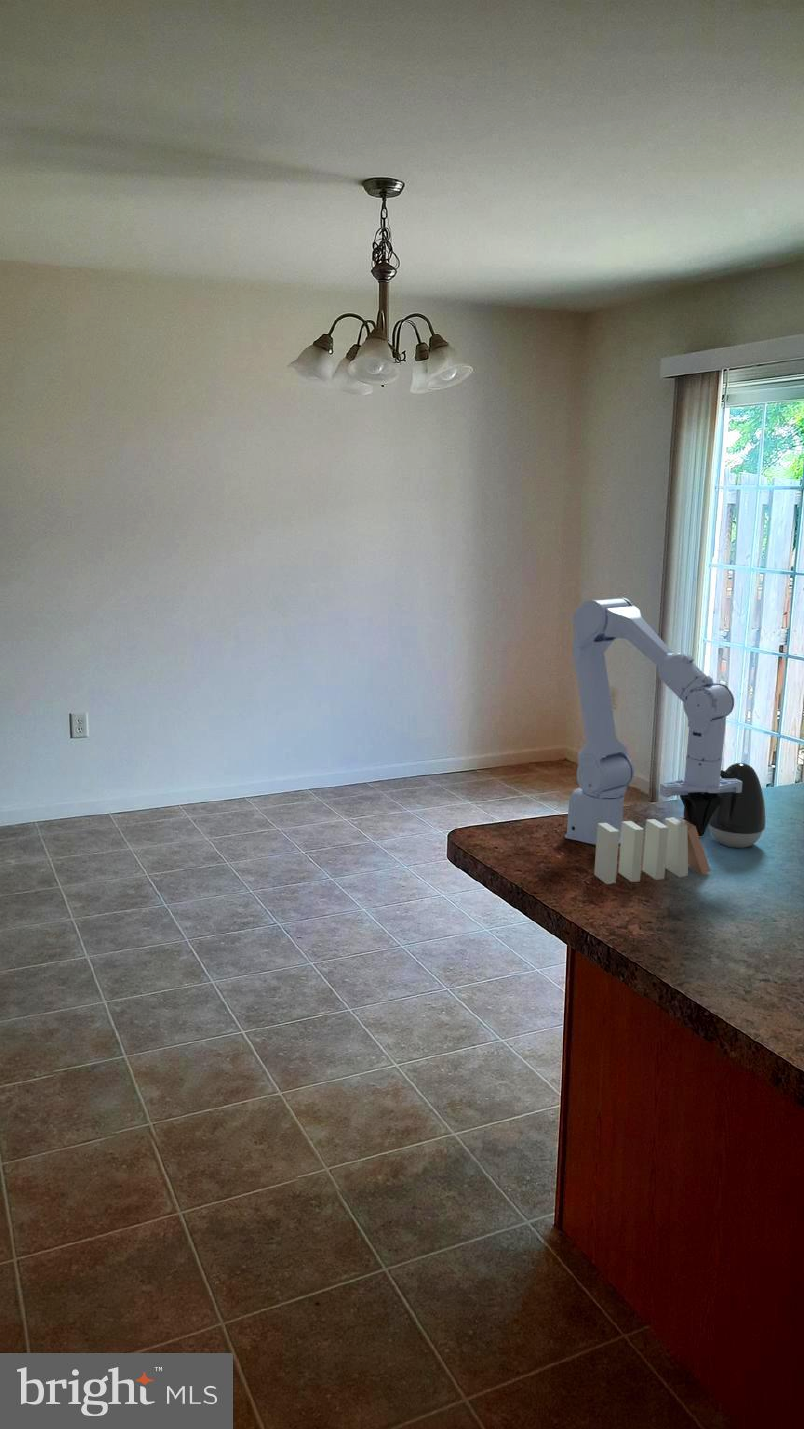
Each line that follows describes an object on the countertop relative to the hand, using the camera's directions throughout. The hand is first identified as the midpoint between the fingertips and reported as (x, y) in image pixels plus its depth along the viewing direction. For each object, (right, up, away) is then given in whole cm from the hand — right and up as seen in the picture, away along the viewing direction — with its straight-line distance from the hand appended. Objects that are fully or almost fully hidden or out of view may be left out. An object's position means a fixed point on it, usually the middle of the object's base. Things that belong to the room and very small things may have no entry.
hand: (696, 834), depth 177 cm
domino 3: (-8, -7, -1) cm, 10 cm away
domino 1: (-16, -7, -4) cm, 18 cm away
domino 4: (-3, -6, 0) cm, 7 cm away
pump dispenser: (+11, -4, +16) cm, 20 cm away
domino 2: (-12, -7, -2) cm, 14 cm away
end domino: (+1, -6, +2) cm, 6 cm away
